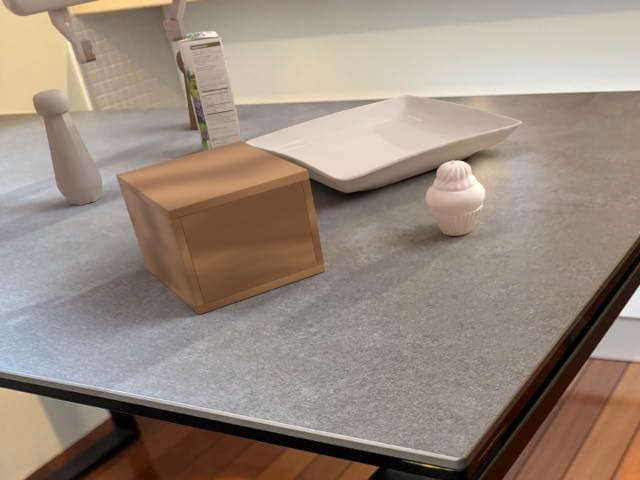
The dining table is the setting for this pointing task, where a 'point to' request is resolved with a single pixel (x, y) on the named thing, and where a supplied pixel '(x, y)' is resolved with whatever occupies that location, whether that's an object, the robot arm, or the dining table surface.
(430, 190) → the muffin
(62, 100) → the salt shaker
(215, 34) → the syrup box
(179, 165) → the cabinet
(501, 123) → the square plate
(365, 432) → the dining table surface
